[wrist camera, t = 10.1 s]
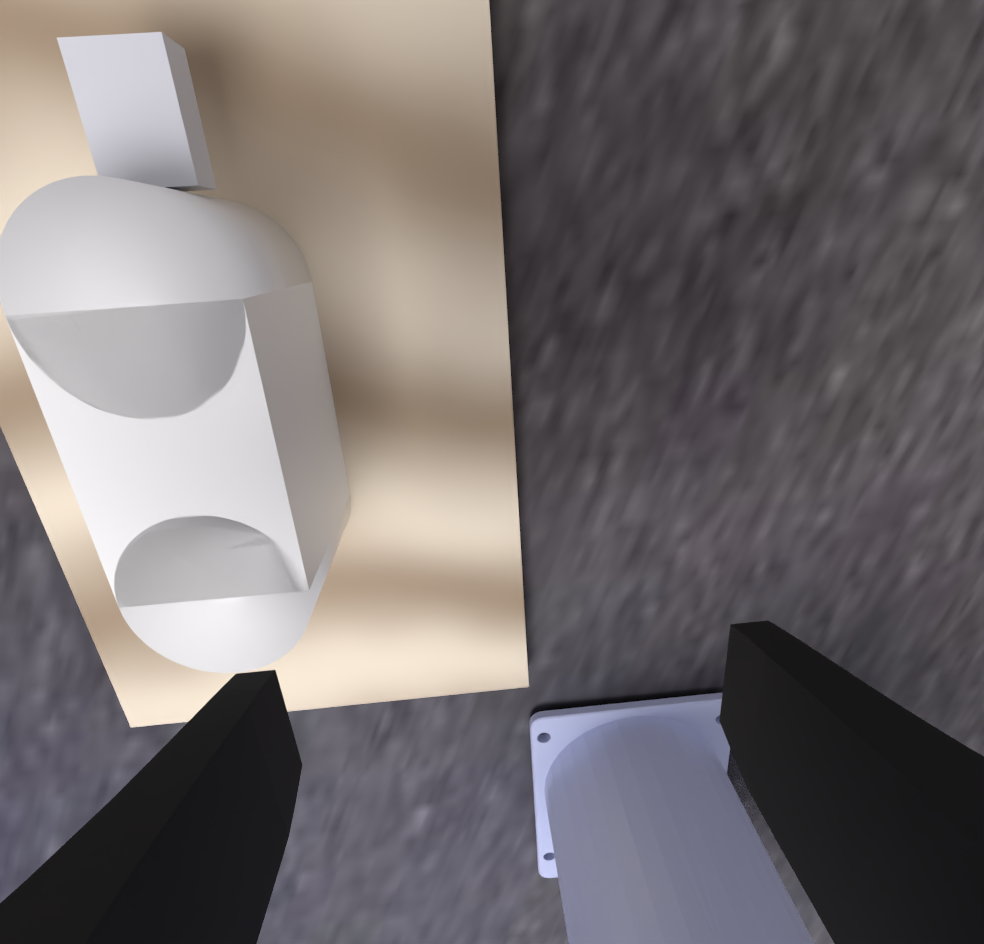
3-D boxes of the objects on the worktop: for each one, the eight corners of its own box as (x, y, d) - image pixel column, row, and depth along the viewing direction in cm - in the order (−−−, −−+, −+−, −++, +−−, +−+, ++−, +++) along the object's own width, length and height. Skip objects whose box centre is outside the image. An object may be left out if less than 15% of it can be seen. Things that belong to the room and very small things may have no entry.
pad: (525, 667, 21) (528, 686, 20) (145, 705, 20) (130, 727, 19) (478, -114, 12) (480, -144, 11) (-176, -78, 12) (-230, -106, 11)
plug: (360, 551, 17) (325, 664, 13) (230, 563, 17) (147, 681, 12) (275, 76, 12) (169, -25, 8) (94, 86, 12) (-122, -10, 8)
